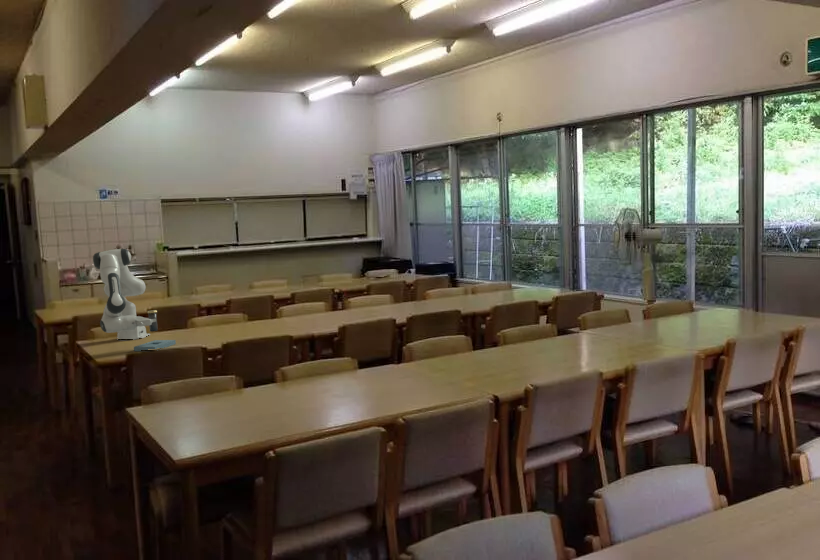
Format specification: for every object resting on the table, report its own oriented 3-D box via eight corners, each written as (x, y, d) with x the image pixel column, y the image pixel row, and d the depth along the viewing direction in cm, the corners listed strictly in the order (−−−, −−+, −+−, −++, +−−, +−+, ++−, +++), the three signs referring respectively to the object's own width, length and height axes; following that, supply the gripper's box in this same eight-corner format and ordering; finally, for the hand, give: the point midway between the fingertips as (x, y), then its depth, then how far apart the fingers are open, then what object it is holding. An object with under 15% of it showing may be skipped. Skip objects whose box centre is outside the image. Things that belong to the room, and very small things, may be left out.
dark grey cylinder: (150, 330, 435) (148, 310, 434) (159, 329, 435) (158, 310, 434) (147, 331, 429) (146, 311, 428) (157, 331, 430) (155, 311, 429)
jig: (155, 344, 445) (154, 340, 445) (175, 343, 442) (175, 339, 442) (133, 351, 424) (133, 346, 424) (155, 350, 421) (154, 346, 421)
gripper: (135, 318, 415) (159, 315, 424) (125, 315, 432) (148, 313, 440) (136, 329, 416) (160, 326, 424) (126, 326, 432) (149, 323, 441)
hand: (154, 319), depth 432 cm, fingers closed on dark grey cylinder, 4 cm apart
